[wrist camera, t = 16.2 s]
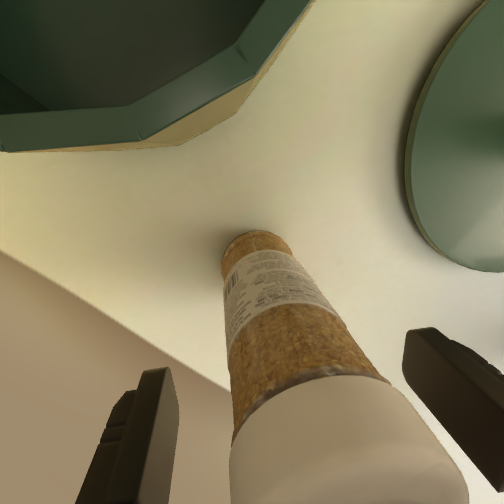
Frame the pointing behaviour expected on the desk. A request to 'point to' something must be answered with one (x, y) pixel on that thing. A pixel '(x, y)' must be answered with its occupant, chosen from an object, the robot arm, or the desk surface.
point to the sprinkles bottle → (315, 398)
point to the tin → (131, 68)
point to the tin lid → (462, 146)
